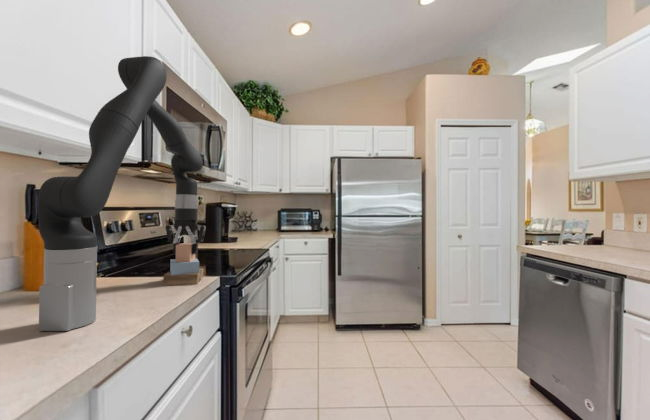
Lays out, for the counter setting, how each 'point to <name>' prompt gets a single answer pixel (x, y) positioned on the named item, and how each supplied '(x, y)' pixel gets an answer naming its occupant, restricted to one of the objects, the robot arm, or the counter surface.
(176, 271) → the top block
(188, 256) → the stack block
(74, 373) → the counter surface
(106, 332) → the counter surface
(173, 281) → the base block
